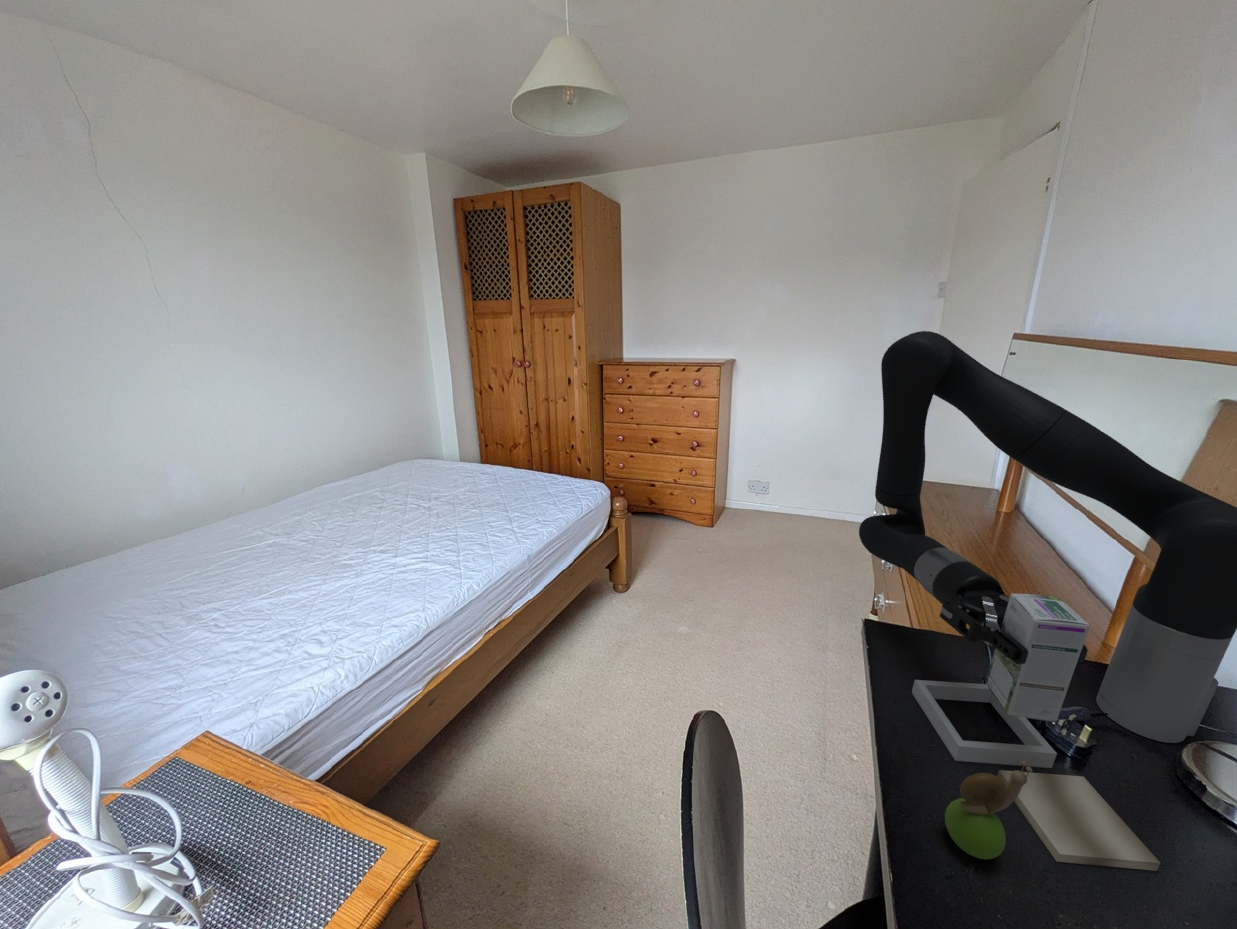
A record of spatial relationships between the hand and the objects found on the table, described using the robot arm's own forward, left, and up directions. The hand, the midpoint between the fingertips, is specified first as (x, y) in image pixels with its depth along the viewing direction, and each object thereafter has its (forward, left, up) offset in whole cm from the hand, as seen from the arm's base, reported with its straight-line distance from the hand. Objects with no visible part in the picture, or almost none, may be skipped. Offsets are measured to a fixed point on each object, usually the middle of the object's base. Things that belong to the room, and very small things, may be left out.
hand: (1053, 657), depth 58 cm
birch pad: (-2, +6, -18) cm, 19 cm away
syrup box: (0, -2, -9) cm, 9 cm away
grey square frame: (+1, -7, -18) cm, 19 cm away
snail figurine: (+11, +10, -18) cm, 24 cm away
